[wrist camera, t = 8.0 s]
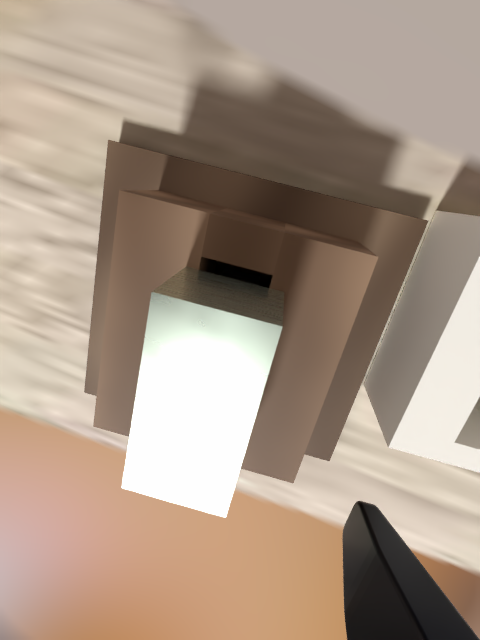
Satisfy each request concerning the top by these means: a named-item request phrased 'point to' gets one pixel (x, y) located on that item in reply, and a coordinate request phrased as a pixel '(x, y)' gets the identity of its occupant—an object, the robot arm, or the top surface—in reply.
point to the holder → (434, 350)
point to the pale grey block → (201, 385)
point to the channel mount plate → (275, 272)
